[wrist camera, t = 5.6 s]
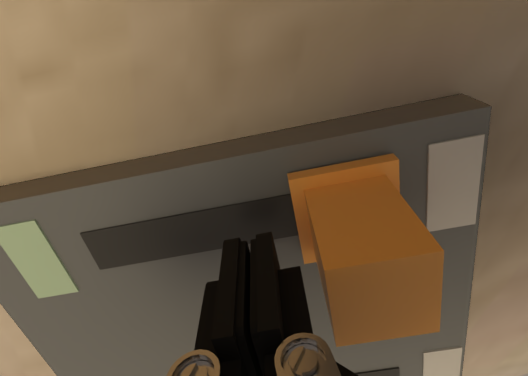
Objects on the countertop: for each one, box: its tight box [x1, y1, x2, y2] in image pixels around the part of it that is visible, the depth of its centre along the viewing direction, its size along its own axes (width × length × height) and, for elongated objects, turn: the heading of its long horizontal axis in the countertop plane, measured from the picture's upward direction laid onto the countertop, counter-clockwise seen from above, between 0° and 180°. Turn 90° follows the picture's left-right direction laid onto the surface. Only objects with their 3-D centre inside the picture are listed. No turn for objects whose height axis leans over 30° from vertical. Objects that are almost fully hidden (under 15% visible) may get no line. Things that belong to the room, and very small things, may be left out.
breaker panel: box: [0, 94, 492, 376], centre depth 18 cm, size 22×18×2 cm
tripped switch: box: [287, 153, 444, 347], centre depth 11 cm, size 4×4×5 cm
